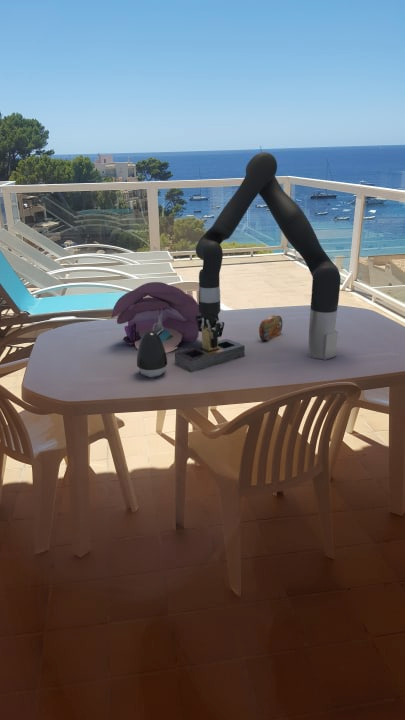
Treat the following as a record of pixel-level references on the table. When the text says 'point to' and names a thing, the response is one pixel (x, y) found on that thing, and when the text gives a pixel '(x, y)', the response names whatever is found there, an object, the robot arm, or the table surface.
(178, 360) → the hole rail
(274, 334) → the tin
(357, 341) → the table surface
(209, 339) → the square peg
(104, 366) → the table surface
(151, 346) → the aroma diffuser
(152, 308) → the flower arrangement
